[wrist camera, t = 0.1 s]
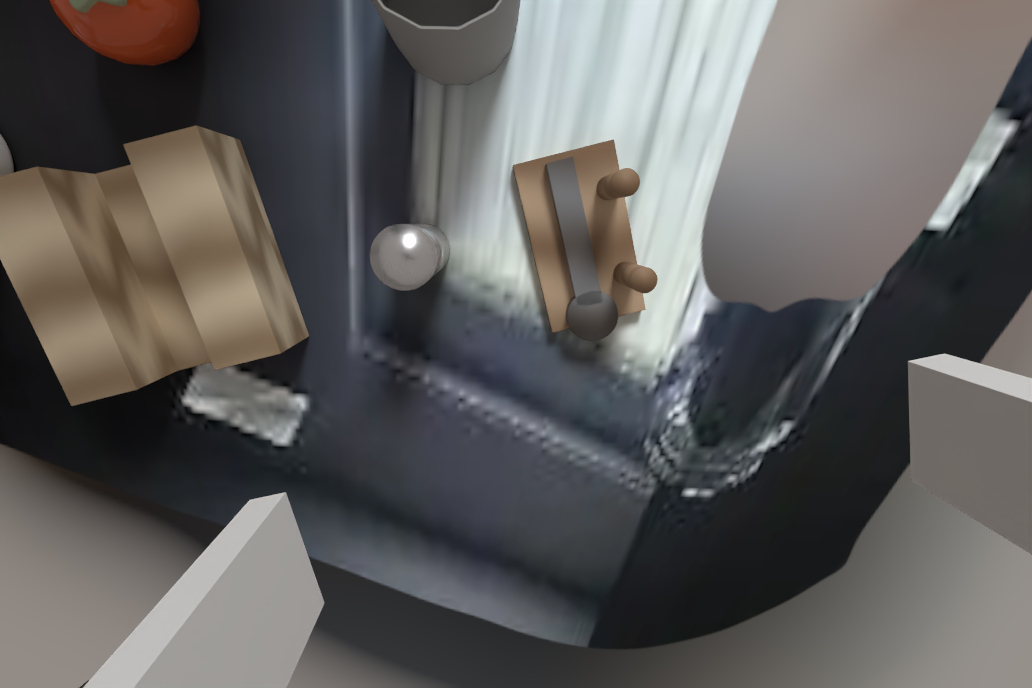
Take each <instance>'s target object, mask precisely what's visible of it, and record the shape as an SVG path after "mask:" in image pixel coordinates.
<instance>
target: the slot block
mask: <svg viewBox="0 0 1032 688" xmlns="http://www.w3.org/2000/svg"><path fill="white" fill-rule="evenodd" d="M123 145H124V148H125V150H126V153H127V155H128V158H129V160H130V163H131V165H128V166H124V167H120V168H116V169H112V170H108V171H104V172H100V173H97V174H92V173H84V172H76V171H68V170H60V169H51V168H43V167H34V168H30V169H26V170H22V171H18V172H15V173H11V174H7V175H3V176H0V260H1V262H2V264H3V266H4V268H5V270H6V272H7V274H8V276H9V278H10V280H11V282H12V285H13V287H14V289H15V291H16V293H17V295H18V297H19V299H20V301H21V303H22V305H23V307H24V309H25V311H26V313H27V315H28V318H29V320H30V322H31V324H32V326H33V328H34V330H35V332H36V334H37V336H38V338H39V340H40V342H41V344H42V346H43V348H44V351H45V353H46V355H47V357H48V359H49V361H50V363H51V365H52V367H53V369H54V371H55V373H56V375H57V377H58V379H59V381H60V384H61V386H62V388H63V390H64V392H65V394H66V396H67V398H68V400H69V402H70V404H71V406H74V405H78V404H82V403H86V402H90V401H94V400H98V399H101V398H105V397H109V396H113V395H117V394H121V393H125V392H129V391H133V390H137V389H139V388H141V387H144V386H146V385H148V384H150V383H152V382H154V381H156V380H159V379H161V378H163V377H165V376H167V375H169V374H172V373H174V372H176V371H178V370H182V369H186V368H190V367H194V366H198V365H202V364H206V363H210V362H212V365H213V367H214V370H217V369H221V368H225V367H229V366H233V365H237V364H241V363H245V362H249V361H253V360H257V359H261V358H265V357H269V356H273V355H277V354H281V353H282V352H284V351H286V350H287V349H289V348H290V347H292V346H294V345H295V344H297V343H299V342H300V341H302V340H304V339H305V338H307V337H309V334H308V331H307V328H306V325H305V322H304V320H303V317H302V314H301V311H300V308H299V305H298V303H297V300H296V297H295V294H294V291H293V288H292V286H291V283H290V280H289V277H288V274H287V271H286V269H285V266H284V263H283V260H282V257H281V254H280V252H279V249H278V246H277V243H276V240H275V237H274V235H273V232H272V229H271V226H270V223H269V220H268V218H267V215H266V212H265V209H264V206H263V203H262V201H261V198H260V195H259V192H258V189H257V186H256V184H255V181H254V178H253V175H252V172H251V169H250V167H249V164H248V161H247V158H246V155H245V152H244V150H243V147H242V144H241V141H240V140H239V139H236V138H233V137H230V136H227V135H224V134H221V133H218V132H215V131H212V130H209V129H206V128H203V127H200V126H192V127H188V128H184V129H181V130H177V131H173V132H169V133H165V134H161V135H157V136H154V137H150V138H146V139H142V140H138V141H134V142H130V143H127V144H123Z"/></svg>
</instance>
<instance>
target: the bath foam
mask: <svg viewBox="0 0 1032 688" xmlns="http://www.w3.org/2000/svg"><path fill="white" fill-rule="evenodd" d="M11 173H14V165H13V159H12V156H11V153H10V150H9V148H8V146H7V144H6V142H5V140H4V139H3V137H2V136H1V134H0V176H3V175H7V174H11Z"/></svg>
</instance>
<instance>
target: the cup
mask: <svg viewBox="0 0 1032 688" xmlns="http://www.w3.org/2000/svg"><path fill="white" fill-rule="evenodd" d="M372 2H373V4H374V6H375V8H376V10H377V11H378V13H379V15H380V17H381V19H382V20H383V22H384V24H385V26H386V28H387V30H388V31H389V33H390V35H391V37H392V39H393V41H394V42H395V44H396V46H397V47H398V49H399V50H400V51H401V53H402V54H403V55H404V56H405V58H406V59H407V60H408V62H409V63H410V64H411V66H412V67H413V68H414V70H415V71H417V72H419V73H421V74H423V75H425V76H426V77H428V78H430V79H432V80H434V81H436V82H438V83H440V84H456V85H470V84H472V83H474V82H475V81H477V80H479V79H481V78H483V77H485V76H487V75H489V74H491V73H493V72H495V70H496V69H497V68H498V66H499V65H500V63H501V62H502V61H503V59H504V58H505V57H506V55H507V54H508V52H509V51H510V50H511V48H512V45H513V40H514V35H515V30H516V26H517V21H518V15H519V7H520V0H372Z"/></svg>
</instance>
